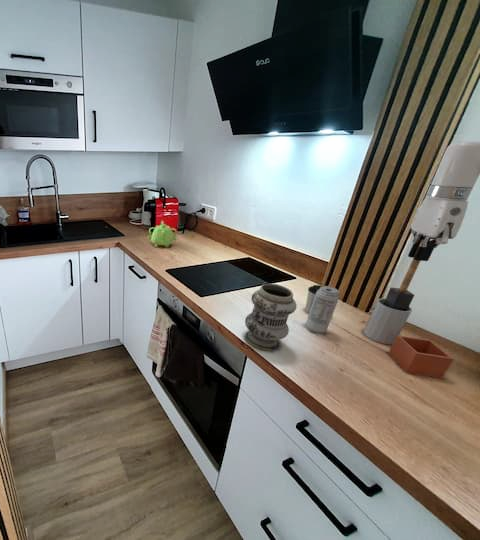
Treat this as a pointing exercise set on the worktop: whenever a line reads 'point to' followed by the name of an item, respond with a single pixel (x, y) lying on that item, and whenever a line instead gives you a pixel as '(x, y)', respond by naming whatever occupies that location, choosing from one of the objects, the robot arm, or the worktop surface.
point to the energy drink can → (322, 309)
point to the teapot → (162, 235)
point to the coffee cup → (311, 297)
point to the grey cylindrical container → (385, 323)
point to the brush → (402, 290)
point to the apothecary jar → (269, 316)
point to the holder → (420, 356)
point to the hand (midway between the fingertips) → (417, 258)
